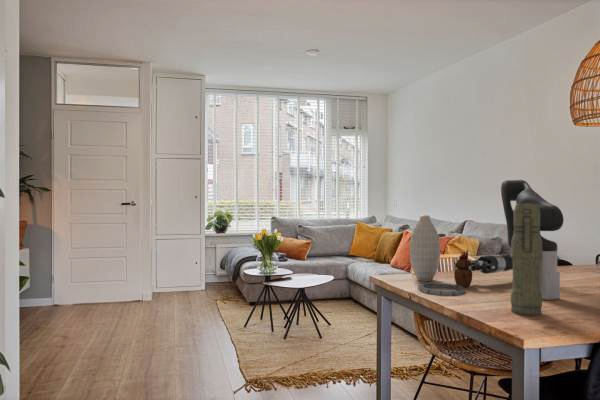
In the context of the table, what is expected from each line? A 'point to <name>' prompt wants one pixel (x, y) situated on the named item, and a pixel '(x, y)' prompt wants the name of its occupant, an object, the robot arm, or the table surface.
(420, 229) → the vase
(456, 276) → the wooden figurine
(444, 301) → the table surface
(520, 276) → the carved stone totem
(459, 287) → the steel ring
